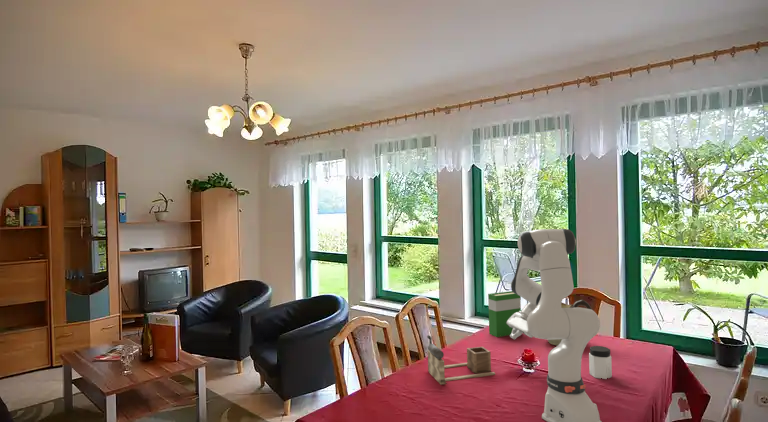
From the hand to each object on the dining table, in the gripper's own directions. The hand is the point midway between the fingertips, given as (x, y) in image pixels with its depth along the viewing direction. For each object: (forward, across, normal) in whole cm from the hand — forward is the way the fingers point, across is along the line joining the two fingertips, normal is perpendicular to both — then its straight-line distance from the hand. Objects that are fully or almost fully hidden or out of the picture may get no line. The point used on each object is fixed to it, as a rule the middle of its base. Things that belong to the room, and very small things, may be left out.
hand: (512, 337), depth 210 cm
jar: (-12, +20, +33) cm, 40 cm away
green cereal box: (-7, -52, +28) cm, 59 cm away
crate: (+21, 0, -3) cm, 22 cm away
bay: (+29, 0, -8) cm, 30 cm away
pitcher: (-21, -26, +42) cm, 54 cm away
